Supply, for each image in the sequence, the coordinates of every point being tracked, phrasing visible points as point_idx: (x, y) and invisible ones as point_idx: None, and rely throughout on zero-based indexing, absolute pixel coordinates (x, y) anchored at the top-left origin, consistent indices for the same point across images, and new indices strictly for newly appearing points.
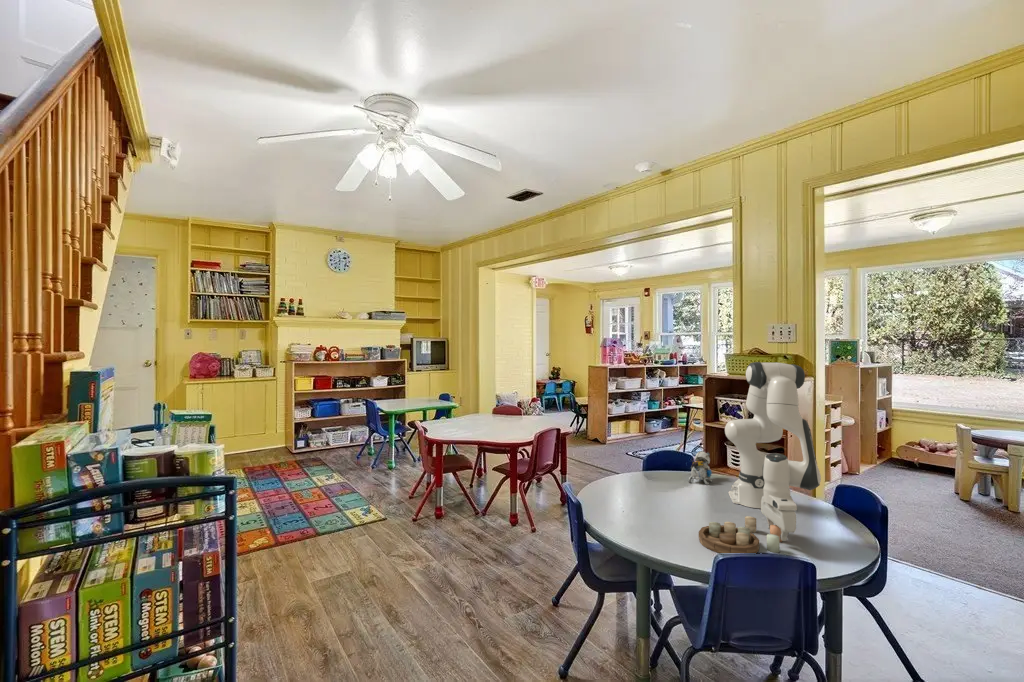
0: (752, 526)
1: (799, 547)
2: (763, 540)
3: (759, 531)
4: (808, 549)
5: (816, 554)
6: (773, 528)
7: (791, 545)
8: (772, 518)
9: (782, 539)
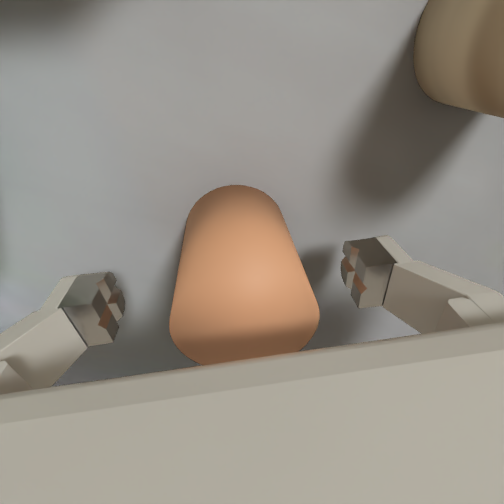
0: (481, 25)
1: (135, 335)
2: (196, 101)
3: (438, 140)
4: (122, 366)
5: (58, 382)
6: (185, 289)
7: (153, 303)
8: (212, 449)
9: (61, 286)
